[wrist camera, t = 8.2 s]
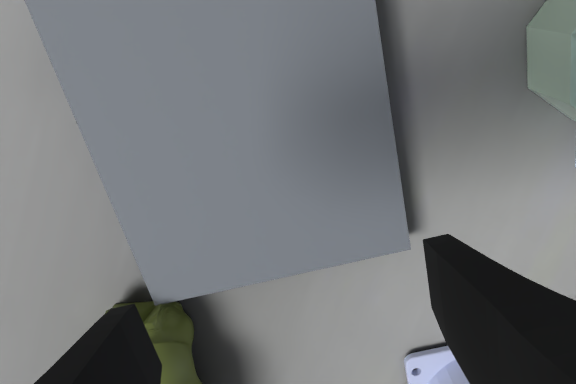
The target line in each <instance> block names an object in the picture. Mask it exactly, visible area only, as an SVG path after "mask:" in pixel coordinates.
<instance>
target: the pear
mask: <svg viewBox="0 0 576 384" xmlns="http://www.w3.org/2000/svg"><path fill="white" fill-rule="evenodd" d="M130 304H135V305H136V308H137V310H138V312H139V314H140V317H141V319H142V321H143V323H144V325H145V328H146V330H147V332H148V334H149V337H150V339H151V341H152V343H153V346H154V348H155V350H156V352H157V355H158V357H159V359H160V361H161V363H162V373H161V384H203V383H202V382H201V381H200V380H199V378H198V376H197V374H196V371H195V367H194V361H193V357H192V350H191V347H192V342H193V337H194V326H193V322H192V320H191V318H190V317H189V316H188V315H187V314H186V313H185V312H184V311H183V308H182V305H181V303H178V302H176V301H175V302H170V303H165V304H159V305H156V306H155V305H154V302H153V301H149V302H135V303H127V304H115V305H114V306H113V308H117V307H121V306H126V305H130ZM111 309H112V308H111ZM109 310H110V309H109ZM109 310H107V311H106V313H107V312H108V311H109ZM106 313H105V314H106Z"/></svg>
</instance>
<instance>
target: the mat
mask: <svg viewBox="0 0 576 384" xmlns="http://www.w3.org/2000/svg"><path fill="white" fill-rule="evenodd" d="M25 2H26V5H27V7H28V9H29V12H30V14H31V16H32V19H33V21H34V24H35V26H36V28H37V31H38V33H39V35H40V38H41V40H42V42H43V45H44V47H45V49H46V52H47V54H48V56H49V59H50V61H51V63H52V66H53V68H54V70H55V73H56V75H57V77H58V80H59V82H60V84H61V87H62V89H63V91H64V94H65V96H66V98H67V101H68V103H69V106H70V108H71V110H72V113H73V115H74V117H75V120H76V122H77V124H78V127H79V129H80V131H81V134H82V136H83V138H84V141H85V143H86V145H87V148H88V150H89V152H90V155H91V157H92V159H93V162H94V164H95V166H96V169H97V171H98V173H99V176H100V178H101V180H102V183H103V185H104V188H105V190H106V192H107V195H108V197H109V199H110V202H111V204H112V206H113V209H114V211H115V213H116V216H117V218H118V220H119V223H120V225H121V227H122V230H123V232H124V234H125V237H126V239H127V241H128V244H129V246H130V248H131V251H132V253H133V255H134V258H135V260H136V263H137V265H138V267H139V270H140V272H141V274H142V277H143V279H144V281H145V284H146V286H147V288H148V291H149V293H150V295H151V298H152V300H153V302H154V305H155V306H156V305H159V304H165V303H170V302H175V301H179V300H184V299H188V298H193V297H197V296H202V295H206V294H211V293H215V292H220V291H224V290H229V289H233V288H238V287H242V286H247V285H251V284H256V283H260V282H265V281H270V280H274V279H279V278H283V277H288V276H292V275H297V274H301V273H306V272H310V271H315V270H319V269H324V268H328V267H333V266H337V265H342V264H346V263H351V262H356V261H360V260H365V259H369V258H374V257H378V256H383V255H387V254H392V253H396V252H401V251H405V250H410V249H411V247H410V240H409V233H408V226H407V219H406V212H405V205H404V198H403V191H402V184H401V177H400V170H399V163H398V156H397V149H396V142H395V135H394V128H393V121H392V114H391V107H390V100H389V93H388V86H387V79H386V72H385V65H384V58H383V51H382V44H381V37H380V30H379V23H378V16H377V9H376V2H375V0H25Z"/></svg>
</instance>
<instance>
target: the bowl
mask: <svg viewBox="0 0 576 384" xmlns="http://www.w3.org/2000/svg"><path fill="white" fill-rule="evenodd" d="M526 34H527V82H528V88H529V89H530V90H531V91H533V92H534V93H535V94H537V95H538V96H540V97H541V98H542V99H544V100H545V101H546V102H548V103H549V104H551V105H552V106H553V107H555V108H556V109H557V110H559V111H560V112H562V113H563V114H564V115H566V116H567V117H568V118H570V119H572V120H574V121H576V0H547V1H546V2H545V3H544V5H543V6H542V7H541V8H540V10H539V11H538V12H537V14H536V15H535V16H534V18H533V19H532V20H531V21H530V23H529V24H528V25H527V27H526Z"/></svg>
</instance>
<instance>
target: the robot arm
mask: <svg viewBox="0 0 576 384" xmlns="http://www.w3.org/2000/svg"><path fill="white" fill-rule="evenodd" d="M423 244H424V252H425V260H426V268H427V275H428V283H429V291H430V299H431V306H432V310H433V312H434V314H435V317H436V319H437V322H438V324H439V327H440V329H441V331H442V334H443V336H444V338H445V341H446V343H447V345H448V346H444V347H439V348H434V349H430V350H425V351H420V352H415V353H411V354H409V355H407V356H406V357H405V359H404V365H405V371H406V376H407V382H408V384H576V301H575V300H573V299H570V298H568V297H566V296H563V295H561V294H559V293H557V292H554V291H552V290H550V289H548V288H546V287H544V286H542V285H540V284H537V283H535V282H533V281H531V280H529V279H527V278H525V277H523V276H521V275H519V274H517V273H516V272H514V271H512V270H510V269H508V268H506V267H504V266H503V265H501V264H499V263H497V262H495V261H494V260H492V259H490V258H488V257H487V256H485V255H483V254H481V253H480V252H478V251H476V250H475V249H473V248H471V247H470V246H468V245H466V244H465V243H463V242H461V241H460V240H458V239H456V238H454V237H453V236H451V235H449V234H446V235H441V236H437V237H432V238H428V239H423ZM415 368H418V369H416V370H413V369H415ZM161 373H162V363H161V361H160V359H159V357H158V355H157V352H156V350H155V348H154V346H153V343H152V341H151V339H150V337H149V334H148V332H147V330H146V328H145V325H144V323H143V321H142V319H141V317H140V314H139V312H138V310H137V308H136V305H135V304H130V305H126V306H121V307H117V308H112V309H110V310H109V311H108V312H107V313H106V314H104V315H103V316H102V317H101V318H100V319H99V320H98V321H97V322H96V323H95V324H94V325H93V326H92V327H91V328H90V329H89V330H88V331H87V332H86V333H85V334H84V335H83V336H82V337H81V338H80V339H79V340H78V341H77V342H76V343H75V344H74V345H73V346H72V347H71V348H70V349H69V350H68V351H67V352H66V353H65V354H64V355H63V356H62V357H61V358H60V359H59V360H58V361H57V362H56V363H55V364H54V365H53V366H52V367H51V368H50V369H49V370H48V371H47V372H46V373H45V374H44V375H43V376H41V377H40V378H39V379H38V380H37V381H36V382H35V383H34V384H161Z"/></svg>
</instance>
